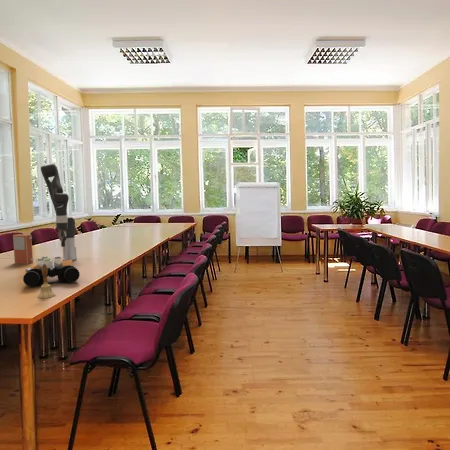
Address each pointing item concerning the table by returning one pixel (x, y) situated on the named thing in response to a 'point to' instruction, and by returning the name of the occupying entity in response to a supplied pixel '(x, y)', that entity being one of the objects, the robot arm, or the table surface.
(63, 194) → the robot arm
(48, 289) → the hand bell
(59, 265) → the knob
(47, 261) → the levelling plate
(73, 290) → the table surface
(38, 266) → the knob
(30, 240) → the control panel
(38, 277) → the binoculars
